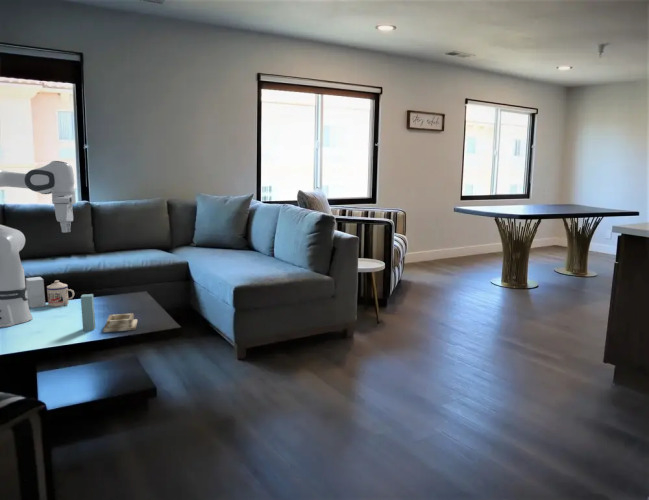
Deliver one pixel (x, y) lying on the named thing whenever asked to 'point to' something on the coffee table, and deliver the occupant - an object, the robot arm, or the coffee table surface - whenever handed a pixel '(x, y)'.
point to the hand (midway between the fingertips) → (66, 232)
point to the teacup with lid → (58, 294)
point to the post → (88, 312)
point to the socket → (120, 323)
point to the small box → (35, 292)
